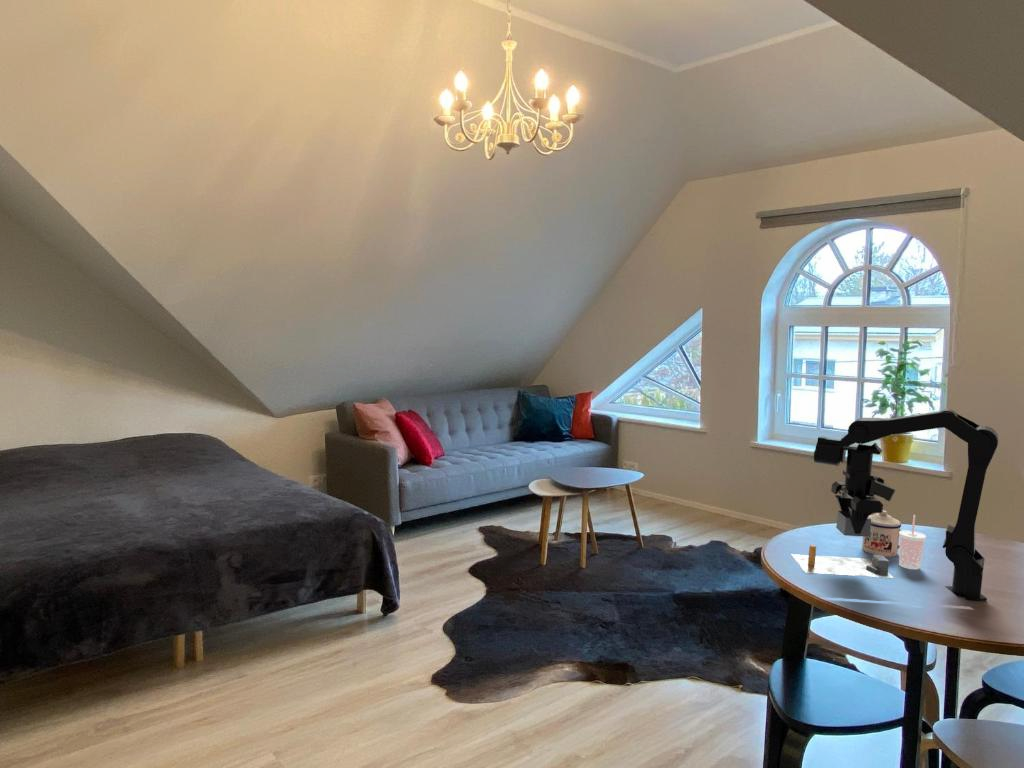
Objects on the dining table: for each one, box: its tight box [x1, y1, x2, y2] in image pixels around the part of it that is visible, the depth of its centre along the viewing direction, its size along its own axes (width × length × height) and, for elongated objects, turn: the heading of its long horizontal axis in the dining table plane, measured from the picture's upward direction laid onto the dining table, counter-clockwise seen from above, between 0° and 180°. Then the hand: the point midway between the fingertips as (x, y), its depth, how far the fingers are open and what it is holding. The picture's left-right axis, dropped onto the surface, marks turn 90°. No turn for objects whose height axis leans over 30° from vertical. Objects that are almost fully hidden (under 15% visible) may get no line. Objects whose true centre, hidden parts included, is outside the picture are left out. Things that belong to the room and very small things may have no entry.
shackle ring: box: [835, 510, 871, 538], centre depth 186 cm, size 6×6×4 cm
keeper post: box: [808, 544, 817, 566], centre depth 188 cm, size 2×2×5 cm
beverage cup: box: [898, 514, 927, 570], centre depth 190 cm, size 6×6×14 cm
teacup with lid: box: [861, 509, 904, 557], centre depth 200 cm, size 12×9×12 cm
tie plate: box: [790, 553, 895, 579], centre depth 189 cm, size 13×21×4 cm, turn 85°
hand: (853, 529), depth 187 cm, fingers closed on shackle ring, 6 cm apart
